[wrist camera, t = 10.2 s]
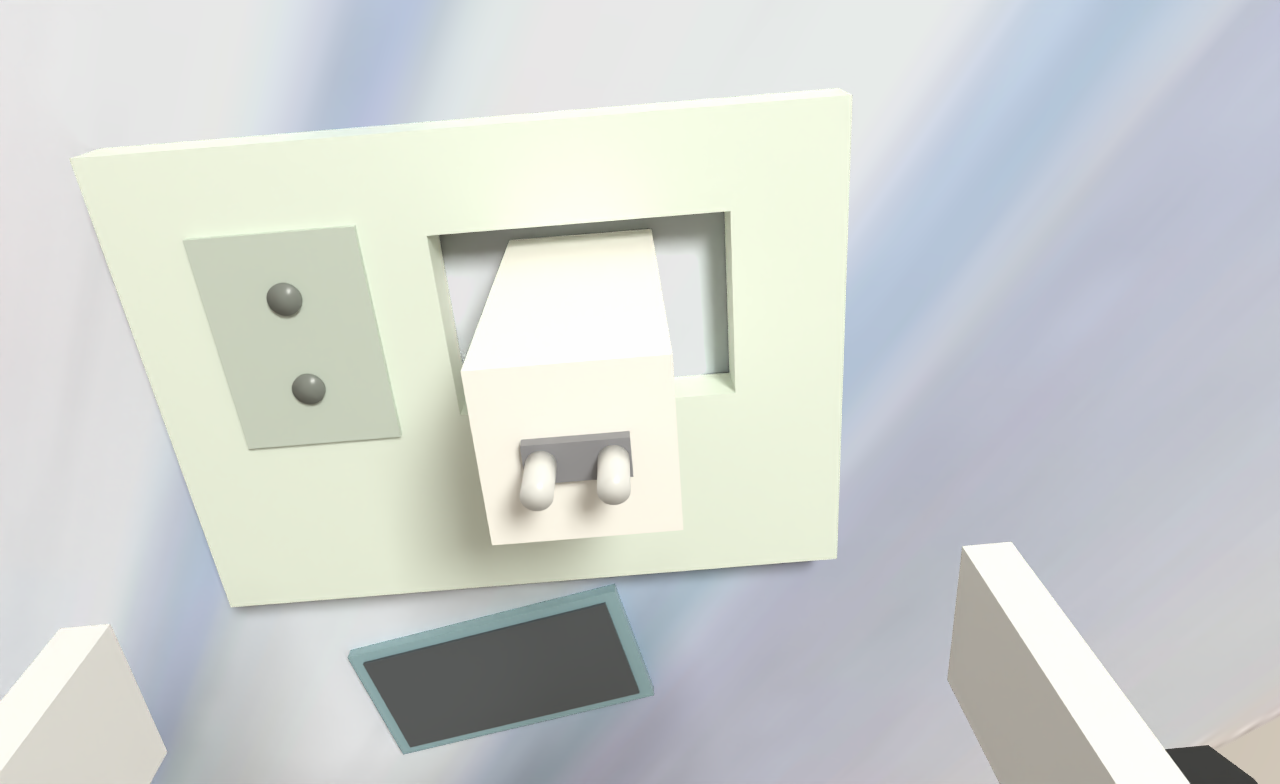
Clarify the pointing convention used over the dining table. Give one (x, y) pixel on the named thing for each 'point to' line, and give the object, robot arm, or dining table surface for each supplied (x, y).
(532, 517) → the charger
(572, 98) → the dining table surface
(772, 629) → the dining table surface
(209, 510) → the outlet plate
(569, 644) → the phone
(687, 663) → the dining table surface
